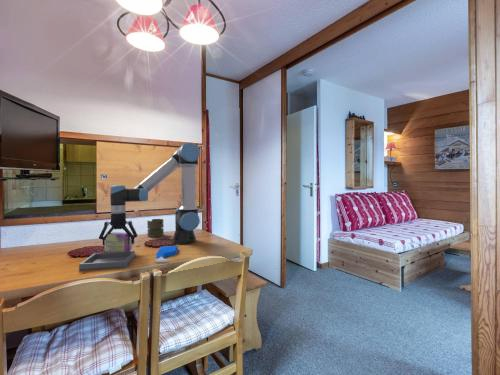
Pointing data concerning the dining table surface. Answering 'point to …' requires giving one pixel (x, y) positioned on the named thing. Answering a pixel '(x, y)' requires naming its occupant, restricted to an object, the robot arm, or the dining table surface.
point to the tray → (107, 260)
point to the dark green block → (155, 228)
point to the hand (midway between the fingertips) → (118, 250)
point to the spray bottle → (165, 253)
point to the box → (118, 242)
